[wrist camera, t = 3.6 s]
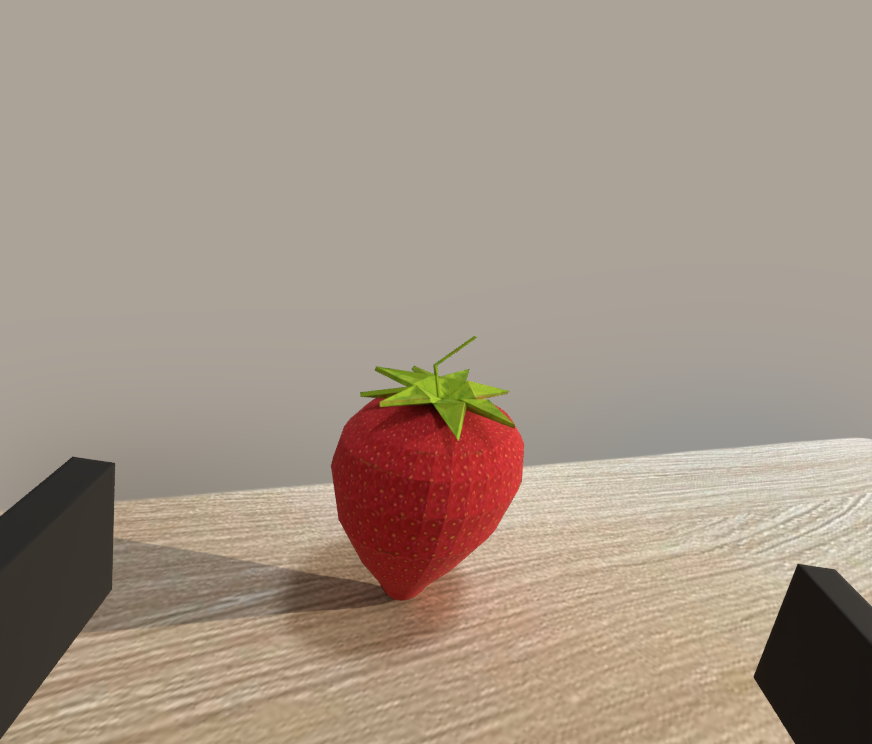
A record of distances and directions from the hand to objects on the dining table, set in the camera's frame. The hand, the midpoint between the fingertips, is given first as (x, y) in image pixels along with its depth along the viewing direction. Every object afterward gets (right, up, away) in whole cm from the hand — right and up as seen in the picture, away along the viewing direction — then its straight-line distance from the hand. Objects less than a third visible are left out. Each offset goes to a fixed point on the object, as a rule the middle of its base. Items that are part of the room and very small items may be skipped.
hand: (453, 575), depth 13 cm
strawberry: (-1, -4, +11) cm, 12 cm away
